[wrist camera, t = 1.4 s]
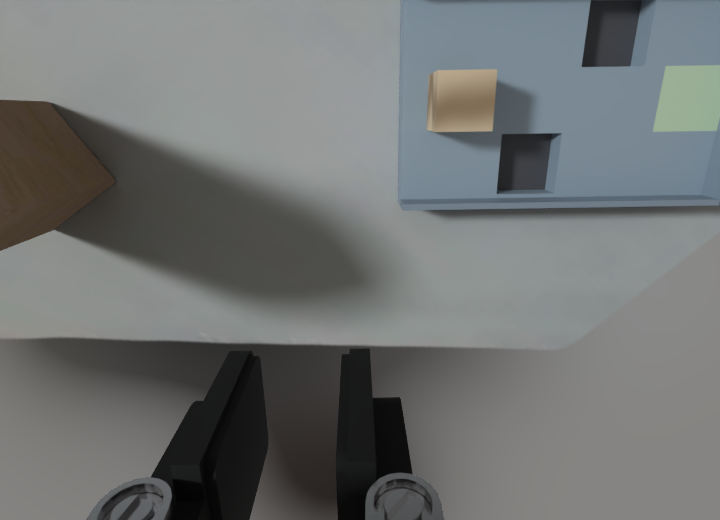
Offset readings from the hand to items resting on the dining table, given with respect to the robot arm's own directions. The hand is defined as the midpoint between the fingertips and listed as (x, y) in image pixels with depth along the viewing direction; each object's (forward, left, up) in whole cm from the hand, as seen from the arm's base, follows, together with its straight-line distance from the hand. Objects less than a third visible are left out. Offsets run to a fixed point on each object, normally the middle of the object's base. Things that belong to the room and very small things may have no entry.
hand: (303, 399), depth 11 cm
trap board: (-8, +22, -37) cm, 44 cm away
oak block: (-8, +11, -35) cm, 37 cm away
